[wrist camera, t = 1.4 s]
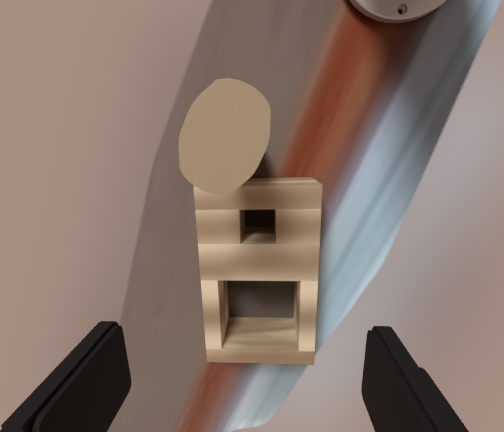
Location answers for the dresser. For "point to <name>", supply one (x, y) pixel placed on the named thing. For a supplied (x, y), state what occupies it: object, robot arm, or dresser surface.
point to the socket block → (260, 270)
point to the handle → (224, 136)
